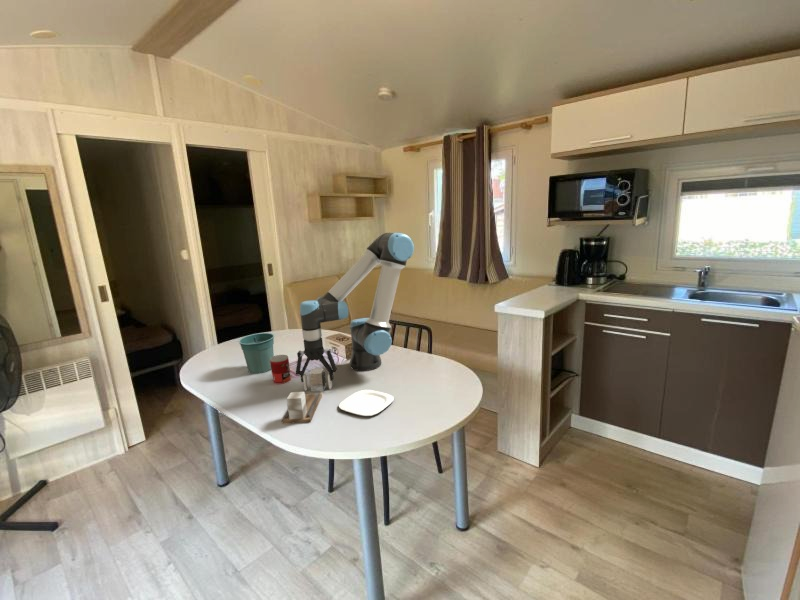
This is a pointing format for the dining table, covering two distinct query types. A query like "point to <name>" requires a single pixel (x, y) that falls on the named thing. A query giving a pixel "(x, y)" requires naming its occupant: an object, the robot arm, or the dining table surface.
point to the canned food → (280, 369)
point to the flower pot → (258, 351)
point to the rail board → (308, 404)
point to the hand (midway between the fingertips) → (318, 388)
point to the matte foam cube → (317, 380)
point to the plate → (366, 402)
